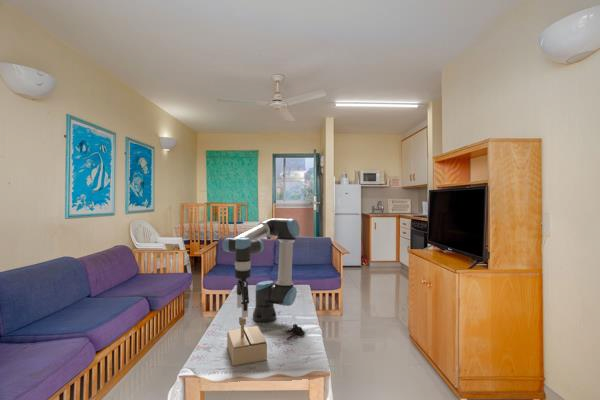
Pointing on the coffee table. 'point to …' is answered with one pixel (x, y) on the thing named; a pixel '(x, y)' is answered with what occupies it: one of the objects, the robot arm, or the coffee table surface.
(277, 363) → the coffee table surface
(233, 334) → the flap outer
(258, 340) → the carton
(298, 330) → the stuffed animal
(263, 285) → the robot arm
